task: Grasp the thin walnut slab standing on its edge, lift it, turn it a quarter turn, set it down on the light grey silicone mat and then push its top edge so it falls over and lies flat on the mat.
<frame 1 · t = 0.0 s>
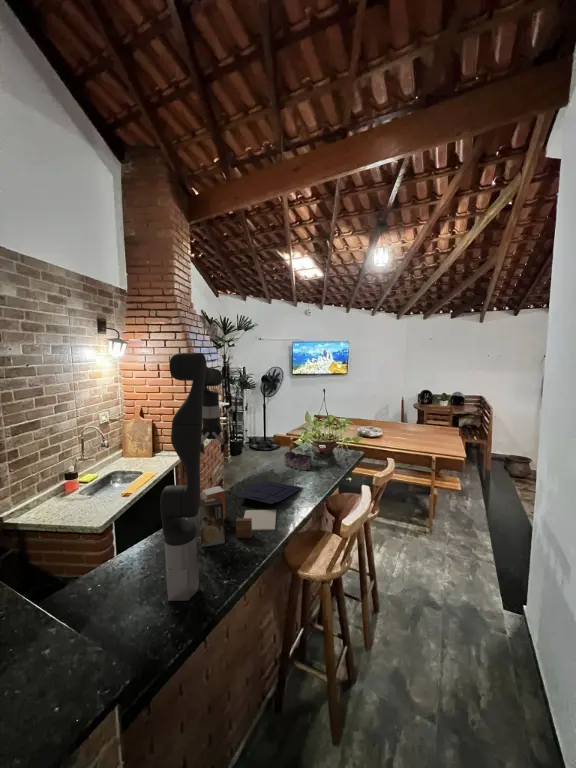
hand: (212, 452, 143), 29 cm above the counter, fingers open, 8 cm apart
small box: (214, 519, 144), on the counter
navy rectangular panel: (269, 495, 167), on the counter
mat: (259, 520, 142), on the counter
coffee box: (212, 541, 127), on the counter
slab: (244, 536, 130), on the counter
geode: (297, 467, 207), on the counter
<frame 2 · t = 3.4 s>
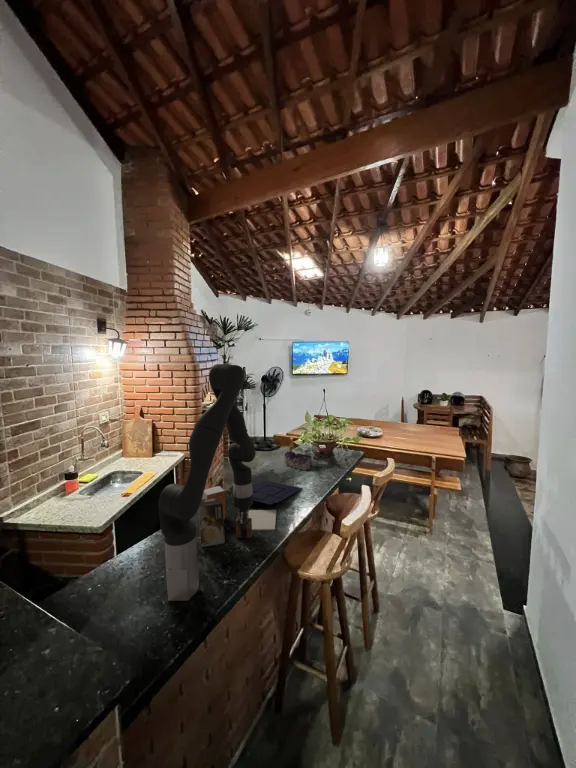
hand: (244, 534, 130), 1 cm above the counter, fingers closed on slab, 2 cm apart
slab: (244, 536, 130), on the counter, touching gripper
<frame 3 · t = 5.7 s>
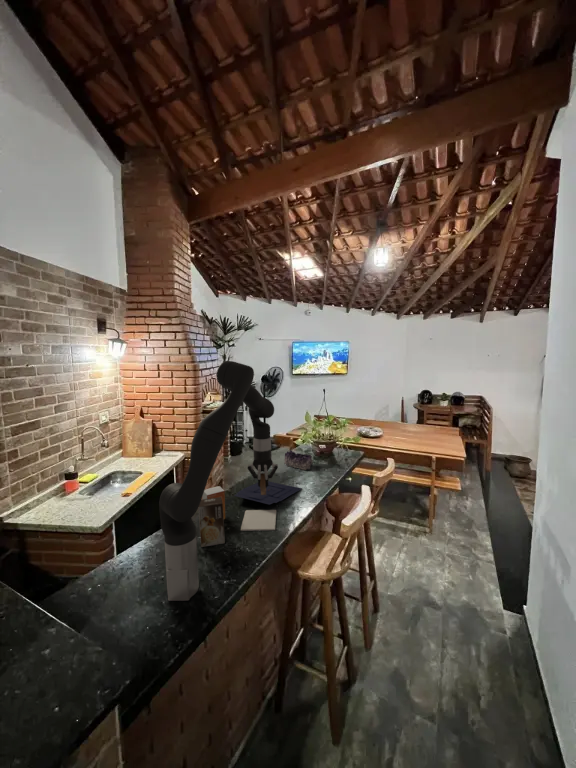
hand: (263, 487, 141), 15 cm above the counter, fingers closed on slab
slab: (263, 488, 143), point 13 cm above the counter, tilted 35°, touching gripper
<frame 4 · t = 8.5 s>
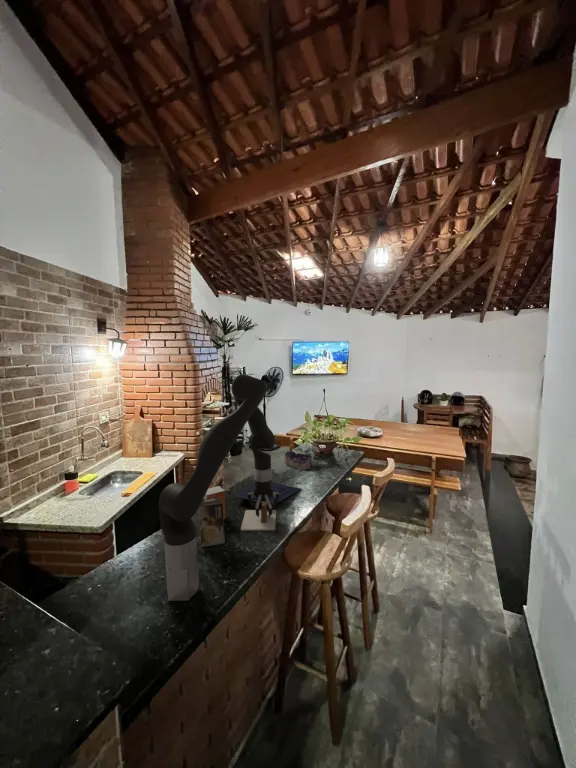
hand: (264, 515, 142), 2 cm above the counter, fingers open, 4 cm apart
slab: (264, 508, 145), point 4 cm above the counter, tilted 90°, touching mat
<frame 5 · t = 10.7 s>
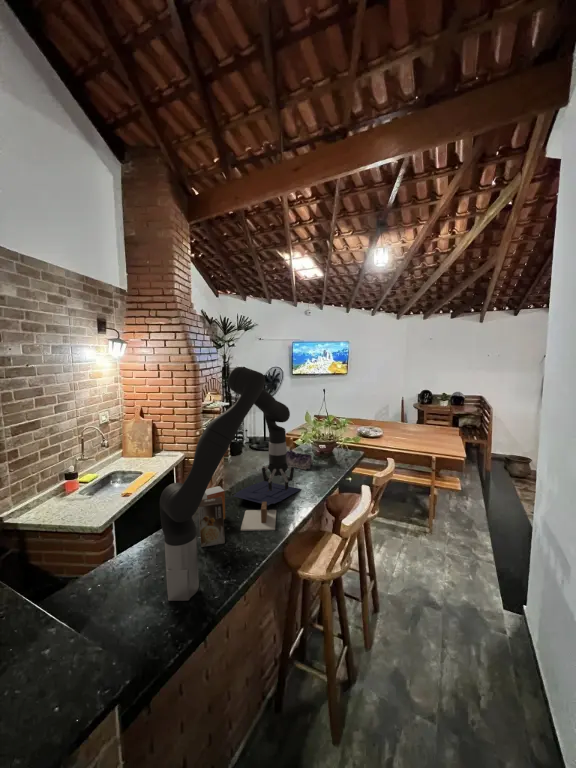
hand: (278, 489, 141), 14 cm above the counter, fingers open, 5 cm apart
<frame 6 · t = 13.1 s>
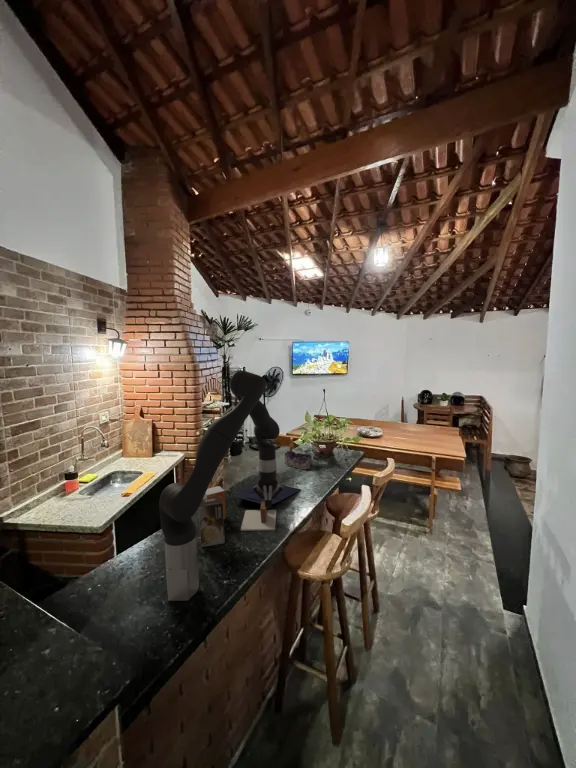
hand: (268, 507, 141), 6 cm above the counter, fingers closed
slab: (264, 508, 145), point 4 cm above the counter, tilted 90°, touching gripper, mat
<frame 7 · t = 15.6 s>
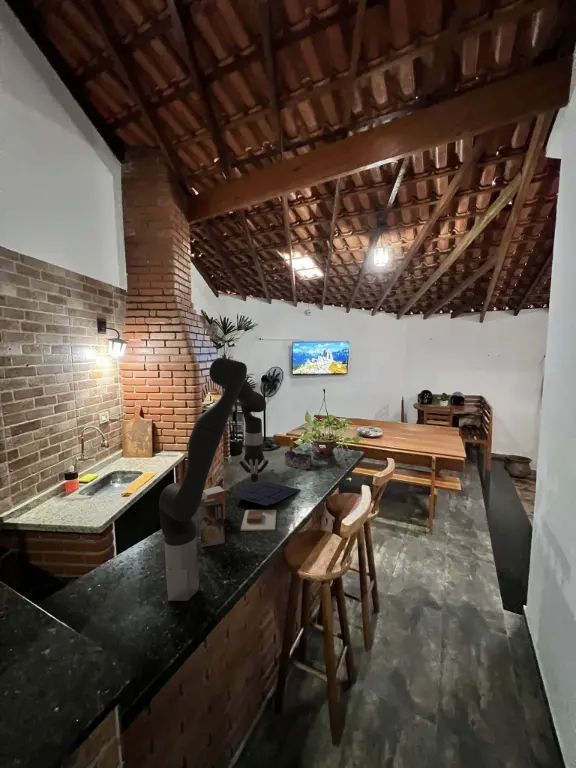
hand: (254, 481, 140), 17 cm above the counter, fingers closed
slab: (255, 512, 146), point 2 cm above the counter, tilted 90°, touching mat
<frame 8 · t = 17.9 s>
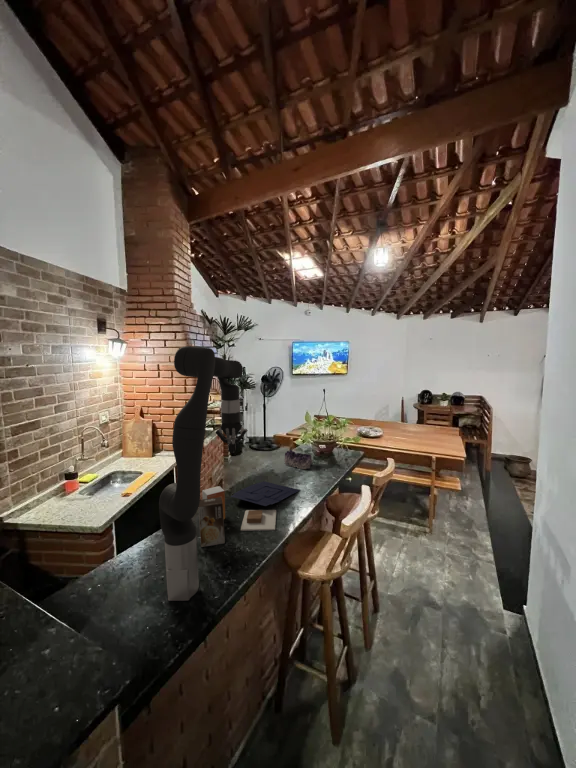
hand: (232, 452, 134), 32 cm above the counter, fingers closed
at the end: slab tilted 90°; slab inside the target area on the mat (3.8 cm from its centre), point 1.6 cm above the mat's base; the gripper is holding nothing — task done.
